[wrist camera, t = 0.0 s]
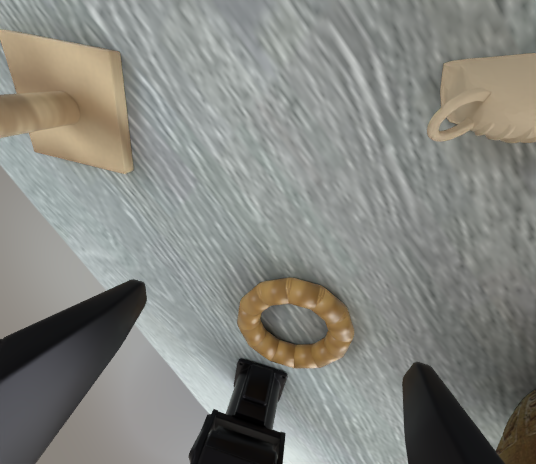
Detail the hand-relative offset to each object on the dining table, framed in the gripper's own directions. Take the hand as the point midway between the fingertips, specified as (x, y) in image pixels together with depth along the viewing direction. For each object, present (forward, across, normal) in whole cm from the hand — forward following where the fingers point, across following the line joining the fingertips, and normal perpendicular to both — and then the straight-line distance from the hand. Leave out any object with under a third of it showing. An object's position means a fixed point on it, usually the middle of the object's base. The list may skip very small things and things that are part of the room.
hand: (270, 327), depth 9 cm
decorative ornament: (+15, -9, -8) cm, 19 cm away
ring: (+14, -2, +15) cm, 21 cm away
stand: (+15, +20, -2) cm, 25 cm away
